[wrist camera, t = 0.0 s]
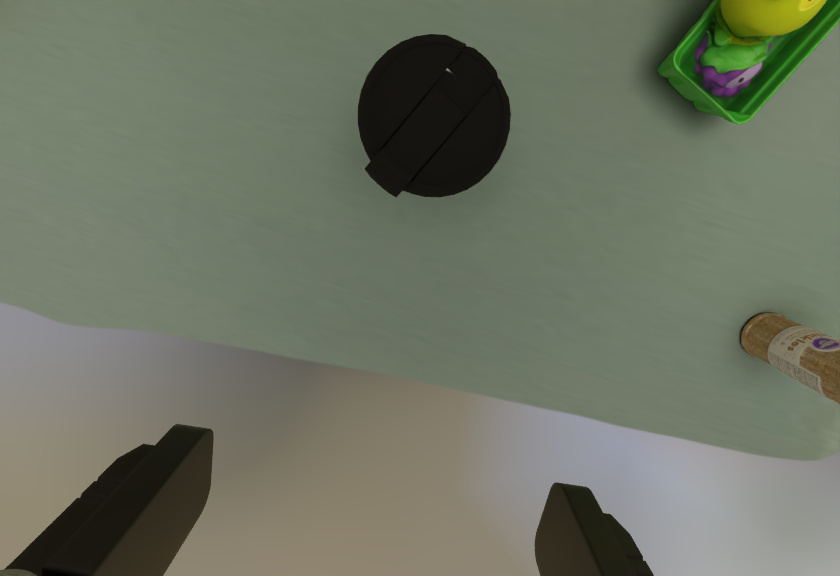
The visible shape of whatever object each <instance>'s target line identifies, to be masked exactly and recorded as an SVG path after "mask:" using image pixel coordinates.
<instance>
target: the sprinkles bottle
mask: <svg viewBox="0 0 840 576" xmlns="http://www.w3.org/2000/svg"><path fill="white" fill-rule="evenodd" d="M741 344H742V346H743V347H744V349H745V350H746V352H747V353H749V354H751V355H753V356H757V357H759V358H760V359H762V360H764V361H766V362H768V363H769V364H771V365H772V366H774V367H775V368H777V369H778V370H780V371H782V372H784V373H785V374H787V375H789V376H790V377H792V378H794V379H796V380H797V381H799V382H801V383H803V384H805V385H806V386H808V387H810V388H812V389H813V390H815V391H817V392H819V393H820V394H822V395H824V396H826V397H828V398H829V399H832V400H834V401H836V402H838V403H839V404H840V340H837V339H835V338H833V337H830V336H828V335H826V334H823V333H821V332H819V331H816V330H814V329H811V328H809V327H806V326H802V325H800V324H798V323H795V322H793V321H791V320H788V319H786V318H785V317H784V316H782V315H780V314H776V313H763V314H760V315H758V316H756V317H754V318H752V319H751V320H750V321H749V322H748V323H747V324H746V325H745V327H744V329H743V331H742V335H741Z"/></svg>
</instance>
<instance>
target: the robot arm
mask: <svg viewBox="0 0 840 576" xmlns="http://www.w3.org/2000/svg"><path fill="white" fill-rule="evenodd" d="M212 454H213V431H212V430H211V429H207V428H200V427H194V426H187V425H181V424H176V425H174V426H173V427H172V428H171V429H170V430H169V431H168V432H167V433H166V434H165V435H164V436H163V438H162V439H161V440H160V441H159V442H158V443H157V444H156V445H155V446H154V445H147V444H143V445H141V446H139V447H137V448H135V449H134V450H132V451H130V452H128V453H126V454H125V455H123V456H121V457H119V458H117V459H116V461H114V463H112V465H110V466H109V467H108V468H107V469H106V470H105V471H104V472H103V473H102V474H101V475H100V476H99V478H98V480H97V481H94V482H93V483H92V484H91V485H90V486H89V487H88V488H87V489H86V490H85V491H84V492H83V493H82V495H81V497H80V498H77V499H76V500H75V501H74V502H73V503H72V504H71V505H70V506H69V507H68V508H67V509H66V510H65V511H64V512H63V513H62V514H61V515H60V516H59V517H57V519H55V520H54V521H53V522H52V524H50V525H49V526H48V527H47V528H46V529H45V530H44V531H43V532H42V533H41V534H40V535H39V536H38V537H37V538H36V539H35V540H34V541H33V542H32V543H31V544H30V545H29V546H28V547H27V548H26V549H25V550H24V551H23V552H22V553H21V554H20V555H19V556H18V557H17V558H16V559H15V560H14V561H13V562H12V563H11V564H10V565H9V566H7V567H6V568H5V569H4V570H0V576H163V575H164V573H165V572H166V570H167V568H168V567H169V565H170V564H171V562H172V560H173V559H174V557H175V556H176V554H177V552H178V551H179V549H180V547H181V546H182V544H183V543H184V541H185V539H186V538H187V536H188V534H189V533H190V531H191V530H192V528H193V526H194V525H195V523H196V521H197V520H198V518H199V517H200V515H201V513H202V511H203V509H204V507H205V504H206V501H207V498H208V495H209V491H210V486H211V471H212ZM535 557H536V562H537V566H538V569H539V572H540V576H654V575H653V573H652V572H651V570H650V568H649V566H648V565H647V563H646V561H643V556H642V554H641V553H640V551H639V549H638V548H637V546H636V544H635V542H634V541H633V539H632V537H631V535H630V534H629V533H628V532H627V531H626V530H625V529H624V528H623V527H622V526H621V525H620V524H619V523H618V522H617V520H616V519H615V518H614V517H613V516H612V515H611V514H605V513H603V512H602V510H601V508H600V506H599V505H598V503H597V501H596V499H595V497H594V495H593V493H592V492H591V490H590V489H589V488H587V487H583V486H576V485H570V484H563V483H554V484H553V485H552V487H551V489H550V492H549V495H548V499H547V501H546V505H545V508H544V511H543V514H542V517H541V520H540V523H539V526H538V529H537V532H536V538H535Z"/></svg>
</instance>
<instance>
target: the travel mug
mask: <svg viewBox="0 0 840 576" xmlns="http://www.w3.org/2000/svg"><path fill="white" fill-rule="evenodd" d="M510 116H511V113H510V104H509V98H508V96H507V93H506V91H505V89H504V87H503V85H502V83H501V80H500V79H498V76H497V72H496V70H495V69H494V67H493V66H492V65H491V64H490V62H489V61H488V60H487V59H486V58H485V57H484V56H483V55H482V54H481V53H479V52H478V51H477V50H476V49H475V48H471V47H468V46H466V44H464V43H462V42H460V41H458V40H456V39H453V38H451V37H449V36H447V35H436V34H429V35H422V36H416V37H413V38H410V39H408V40H405V41H402V42H400V43H399V44H397V45H396V46H394V47H393V48H391V49H390V50H388V51H387V52H386V53H385V54H384V55H383V56H382V57H381V58H380V59H379V60H378V61H377V62H376V63H375V65H374V66H373V68H372V69H371V71H370V72H369V74H368V75H367V78H366V80H365V83H364V85H363V88H362V90H361V94H360V99H359V105H358V126H359V132H360V137H361V141H362V143H363V146H364V148H365V151H366V153H367V155H368V157H369V159H370V161H371V162H370V163H369V164H368V165H367V166H366V168H365V170H366V171H367V173H368V174H369V175H370V177H371V178H372V179H373V180H374V181H375V182H376V183H377V184H379V185H380V186H381V187H382V188H383V189H384V190H386V191H387V192H388V193H389V194H391V195H393V196H395V197H397V196H398V195H399V194H400V192H401V191H402V190H403V191H406V192H409V193H412V194H416V195H420V196H424V197H443V196H449V195H454V194H457V193H459V192H462V191H465V190H467V189H469V188H470V187H472V186H473V185H475V184H477V183H478V182H480V181H481V180H482V179H483V178H484V177H485V176H486V175H487V174H488V173H489V172H490V171H491V170H492V168H493V167H494V165H495V164H496V163H497V161H498V160H499V158H500V156H501V154H502V152H503V150H504V147H505V145H506V142H507V138H508V134H509V130H510Z"/></svg>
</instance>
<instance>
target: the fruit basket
mask: <svg viewBox="0 0 840 576" xmlns="http://www.w3.org/2000/svg"><path fill="white" fill-rule="evenodd" d="M839 21H840V0H713V2H712V3H711V4H710V5H709V6H708V8H707V9H706V10H705V11H704V13H703V14H702V16H701V18H700V19H699V20H698V21H697V22H696V23H695V24H694V25H693V26H692V27H691V28H690V30H689V31H688V32H687V33H686V34H685V36H684V37H683V38H682V39H681V41H680V42H679V44H678V46H677V48H676V49H674V50H673V51H672V52H671V53H670V54H669V55H668V57H667V58H666V59H665V60H664V61H663V63H662V64H661V65H660V66H659V68H658V70H657V71H658V73H659V74H660V75H661V76H664V77H666V78H668V80H669V82H670V84H671V85H672V86H673V87H674V88H675V89H676V90H677V91H678V92H679V93H680V94H681V95H682V96H683V97H685V98H686V99H688V100H690V101H693V104H694V106H695V108H696V109H697V110H699V111H703V112H706V113H710V114H713V115H717V116H720V117H723V118H724V119H726V120H728V121H730V122H733V123H736V124H743V123H746V122H748V121H749V120H750V119H752V118H753V116H754V115H755V114H756V113H757V112H758V111H759V110H760V108H761V107H762V106H763V105H764V104H765V103H766V102H767V101H768V99H769V98H770V97H771V96H772V95H773V94H774V93H775V92H776V91H777V89H778V88H779V87H780V86H781V85H782V84H783V83H784V82H785V81H786V80H787V78H788V77H789V76H790V75H791V74H792V73H793V72H794V71H795V70H796V69H797V67H798V66H799V65H800V64H801V63H802V62H803V61H804V60H805V59H806V58H807V57H808V56H809V54H810V53H811V52H812V51H813V50H814V49H815V48H816V47H817V45H818V44H819V43H820V42H821V41H822V40H823V39H824V38H825V37H826V35H827V34H828V33H829V32H830V31H831V30H832V29H833V28H834V27H835V26H836V24H837V23H838V22H839Z"/></svg>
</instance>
